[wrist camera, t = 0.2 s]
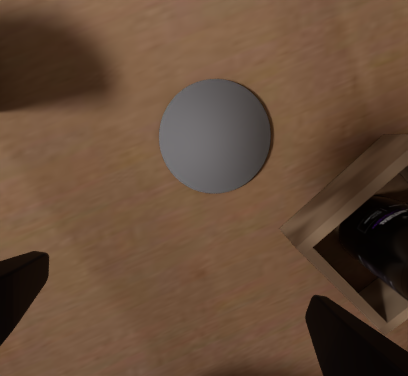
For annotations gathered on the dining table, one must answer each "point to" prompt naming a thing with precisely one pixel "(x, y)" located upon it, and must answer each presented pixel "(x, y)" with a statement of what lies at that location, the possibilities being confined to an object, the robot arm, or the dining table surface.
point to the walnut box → (339, 210)
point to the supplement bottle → (380, 240)
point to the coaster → (214, 136)
